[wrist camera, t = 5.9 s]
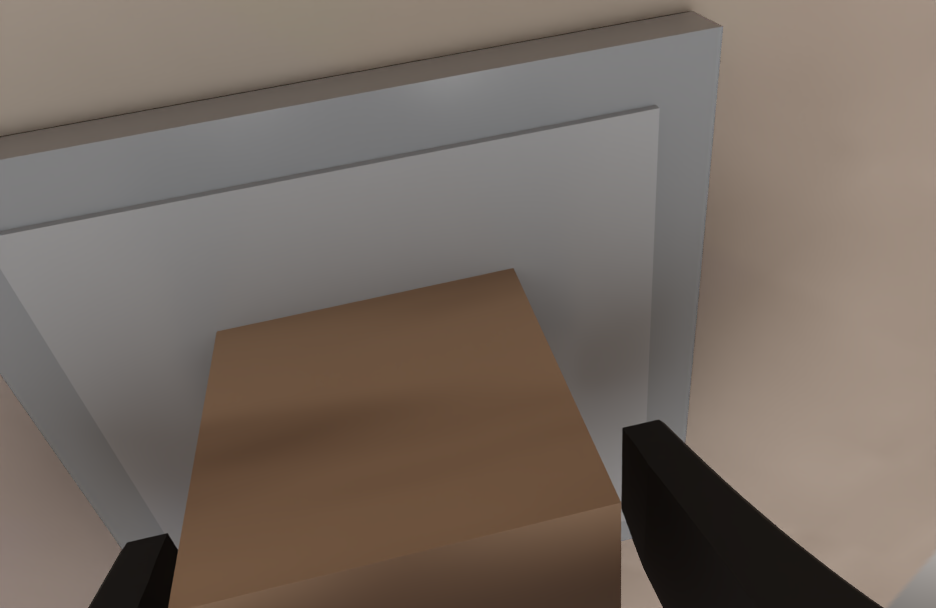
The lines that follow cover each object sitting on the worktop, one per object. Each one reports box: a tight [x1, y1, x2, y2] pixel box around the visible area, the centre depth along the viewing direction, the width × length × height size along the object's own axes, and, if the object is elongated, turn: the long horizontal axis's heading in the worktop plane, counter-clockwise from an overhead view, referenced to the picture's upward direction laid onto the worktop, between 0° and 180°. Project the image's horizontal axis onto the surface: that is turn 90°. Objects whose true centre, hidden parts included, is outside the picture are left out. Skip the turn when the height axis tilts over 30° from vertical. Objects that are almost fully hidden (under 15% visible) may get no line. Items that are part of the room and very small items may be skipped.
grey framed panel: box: [0, 11, 723, 549], centre depth 14 cm, size 12×12×1 cm
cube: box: [168, 268, 621, 608], centre depth 11 cm, size 5×5×5 cm
